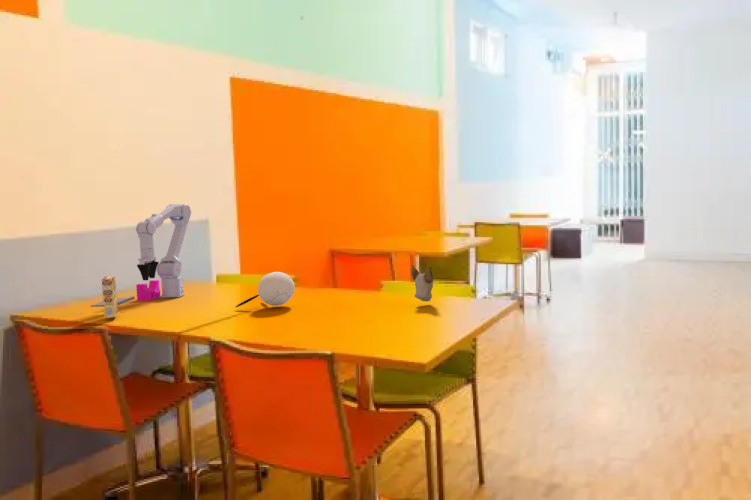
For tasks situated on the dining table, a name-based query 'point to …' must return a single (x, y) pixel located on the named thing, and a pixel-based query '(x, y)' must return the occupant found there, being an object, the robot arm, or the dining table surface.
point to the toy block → (148, 291)
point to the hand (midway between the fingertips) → (148, 279)
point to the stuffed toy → (274, 289)
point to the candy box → (109, 296)
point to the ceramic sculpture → (423, 284)
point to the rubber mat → (119, 301)
